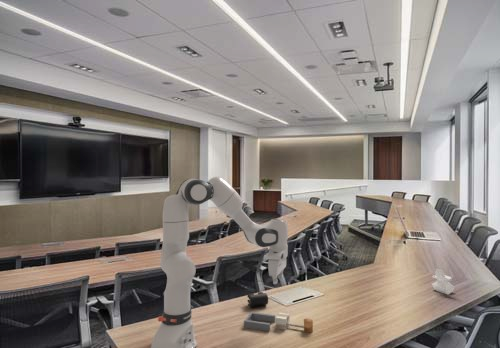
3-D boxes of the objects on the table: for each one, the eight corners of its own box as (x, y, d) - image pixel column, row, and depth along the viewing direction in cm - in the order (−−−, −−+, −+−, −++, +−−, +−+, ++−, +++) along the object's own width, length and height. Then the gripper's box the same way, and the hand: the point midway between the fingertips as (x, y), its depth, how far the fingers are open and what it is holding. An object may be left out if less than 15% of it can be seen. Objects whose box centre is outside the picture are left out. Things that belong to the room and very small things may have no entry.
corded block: (311, 334, 150) (311, 323, 150) (275, 327, 156) (275, 317, 156) (314, 329, 155) (314, 318, 155) (279, 322, 162) (279, 312, 162)
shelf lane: (269, 331, 153) (269, 324, 153) (244, 327, 157) (243, 321, 157) (275, 321, 164) (275, 315, 164) (251, 317, 168) (251, 311, 168)
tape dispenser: (437, 286, 212) (437, 265, 212) (458, 293, 199) (458, 271, 199) (428, 288, 209) (427, 266, 209) (448, 295, 196) (448, 272, 196)
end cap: (251, 309, 178) (251, 297, 178) (246, 305, 184) (246, 292, 184) (268, 307, 181) (268, 294, 181) (263, 302, 188) (263, 290, 188)
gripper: (277, 247, 171) (277, 274, 171) (266, 256, 152) (265, 286, 152) (289, 248, 169) (289, 276, 169) (279, 257, 150) (278, 288, 150)
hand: (277, 281), depth 160 cm, fingers open, 8 cm apart
